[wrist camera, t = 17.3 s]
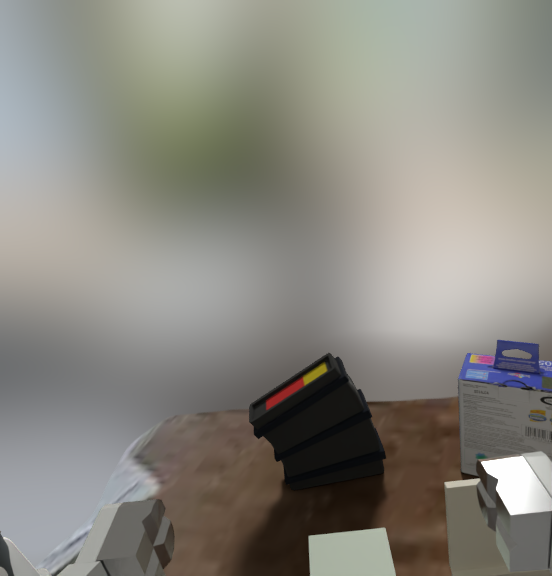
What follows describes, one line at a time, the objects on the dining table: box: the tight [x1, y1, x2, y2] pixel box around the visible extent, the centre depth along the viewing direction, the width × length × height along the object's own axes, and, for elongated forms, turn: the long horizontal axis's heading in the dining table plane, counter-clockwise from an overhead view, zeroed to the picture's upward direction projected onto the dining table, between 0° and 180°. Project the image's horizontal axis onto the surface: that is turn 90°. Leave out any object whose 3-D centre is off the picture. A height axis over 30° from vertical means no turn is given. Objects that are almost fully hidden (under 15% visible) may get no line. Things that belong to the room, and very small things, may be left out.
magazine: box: [249, 353, 386, 490], centre depth 47 cm, size 4×13×15 cm, turn 93°
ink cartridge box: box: [458, 340, 552, 476], centre depth 43 cm, size 10×6×14 cm, turn 60°
